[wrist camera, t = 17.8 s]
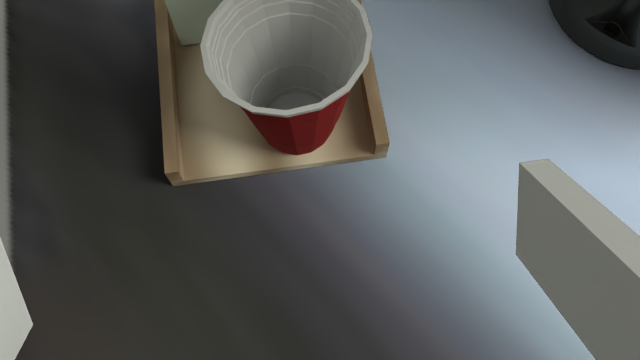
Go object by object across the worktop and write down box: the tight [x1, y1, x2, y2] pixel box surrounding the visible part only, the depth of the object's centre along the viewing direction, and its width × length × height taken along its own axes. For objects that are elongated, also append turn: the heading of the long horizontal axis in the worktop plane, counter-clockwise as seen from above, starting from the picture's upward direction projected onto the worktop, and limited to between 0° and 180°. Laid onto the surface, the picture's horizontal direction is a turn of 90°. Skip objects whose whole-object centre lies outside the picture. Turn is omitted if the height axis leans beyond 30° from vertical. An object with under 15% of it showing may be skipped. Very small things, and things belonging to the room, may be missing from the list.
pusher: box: [164, 0, 223, 45], centre depth 47 cm, size 14×1×8 cm, turn 98°
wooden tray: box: [154, 0, 389, 186], centre depth 48 cm, size 17×19×8 cm
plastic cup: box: [200, 0, 373, 155], centre depth 43 cm, size 11×11×12 cm
